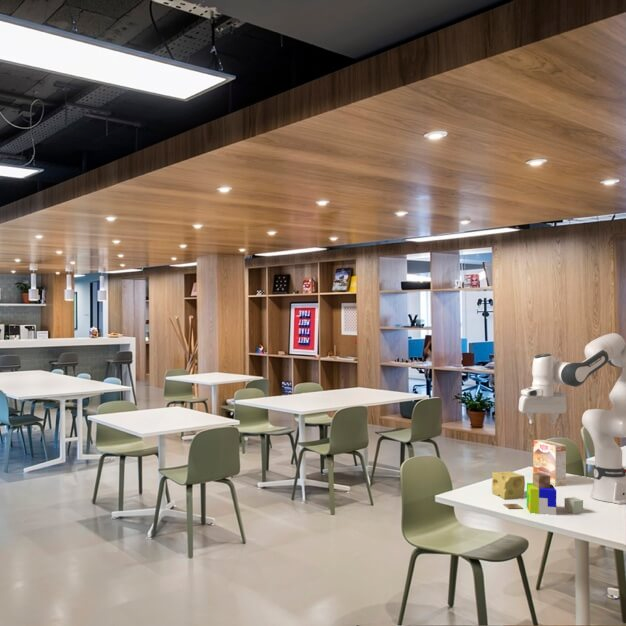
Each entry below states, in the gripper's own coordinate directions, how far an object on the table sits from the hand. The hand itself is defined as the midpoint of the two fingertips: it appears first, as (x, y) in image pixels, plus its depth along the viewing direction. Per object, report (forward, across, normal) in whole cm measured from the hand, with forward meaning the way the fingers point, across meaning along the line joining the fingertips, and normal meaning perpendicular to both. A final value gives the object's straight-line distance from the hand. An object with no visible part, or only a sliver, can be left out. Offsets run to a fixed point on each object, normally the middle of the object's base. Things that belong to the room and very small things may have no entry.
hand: (542, 423), depth 270 cm
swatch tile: (+34, +15, +5) cm, 38 cm away
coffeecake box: (+34, -21, -35) cm, 53 cm away
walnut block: (+24, +5, +11) cm, 27 cm away
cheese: (+34, +10, -12) cm, 38 cm away
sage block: (+34, -8, +12) cm, 37 cm away
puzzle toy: (+34, +5, +11) cm, 36 cm away
